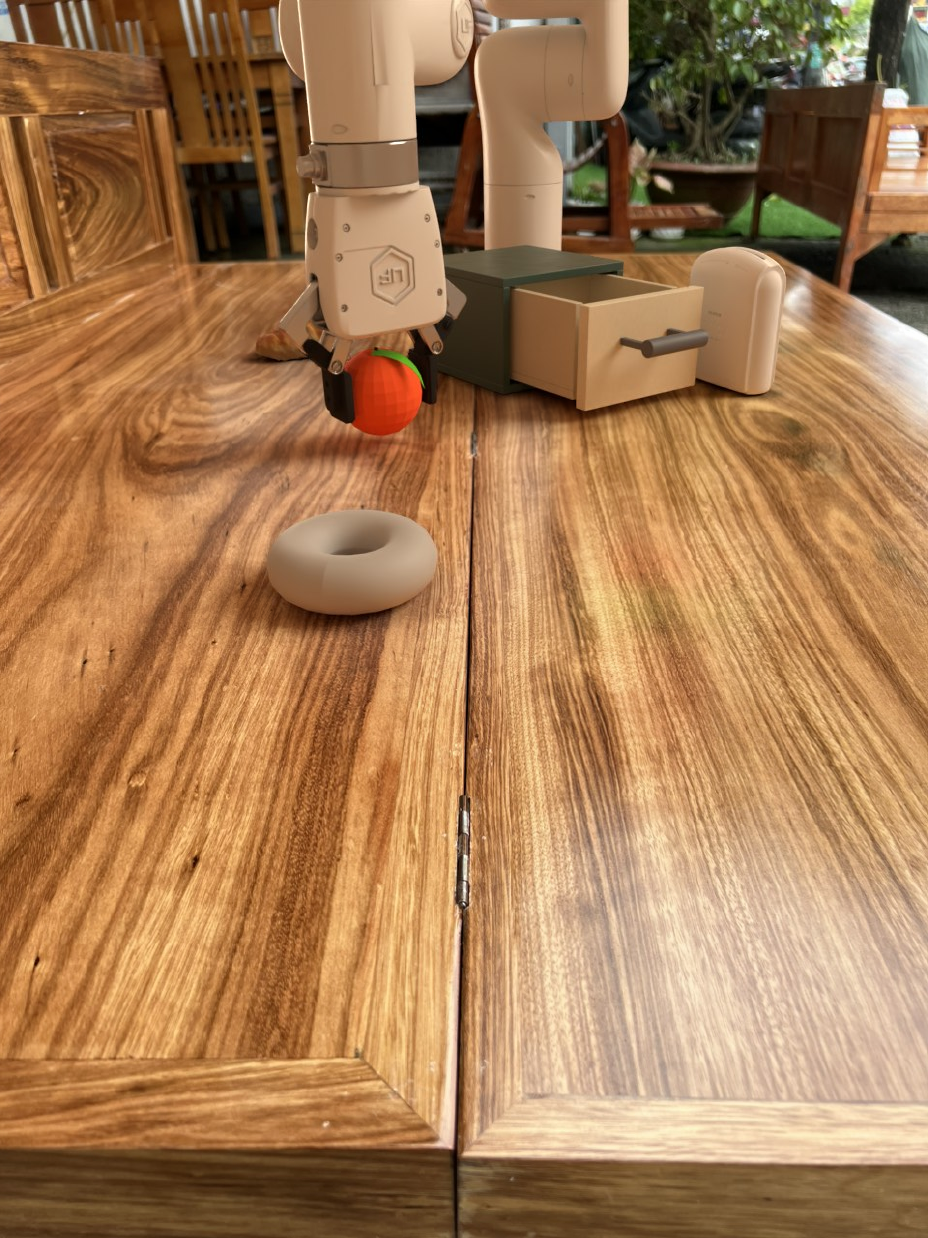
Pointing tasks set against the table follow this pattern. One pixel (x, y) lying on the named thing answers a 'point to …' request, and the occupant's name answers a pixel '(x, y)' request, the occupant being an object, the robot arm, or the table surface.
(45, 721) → the table surface
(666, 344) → the drawer
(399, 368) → the clementine
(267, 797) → the table surface
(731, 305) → the photo printer
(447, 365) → the cabinet
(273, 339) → the pastry
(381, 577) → the donut
